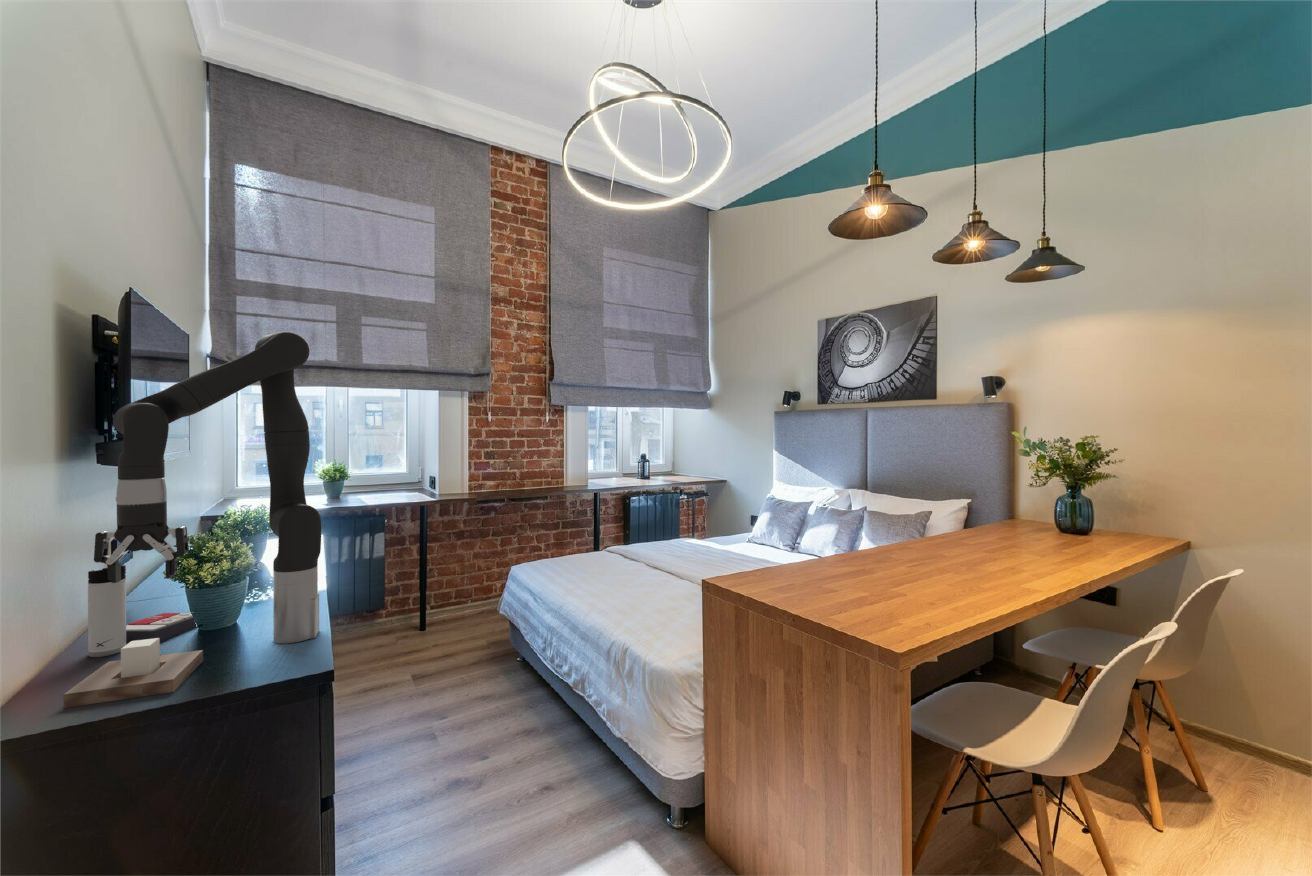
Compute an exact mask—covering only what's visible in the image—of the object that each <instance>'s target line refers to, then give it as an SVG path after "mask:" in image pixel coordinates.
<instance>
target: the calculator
mask: <svg viewBox="0 0 1312 876" xmlns="http://www.w3.org/2000/svg"><path fill="white" fill-rule="evenodd" d="M191 613H192V612H182V613H180V612H163V613H158V614H155V615H152V616H149V617H145V618H142V619H140V620H139V619H138V620H136V621H133V622H129V623H127V624H126V645H127V644H128V643H130V642H131V641H136V640H145V639H154V638H160V643H163V642H165V641H167V640H169V639H170V638H173V637H175V636H178V635H180V634H184V633H186V632H188V631H191V630H193V629H196V628H197V627H196V624H195V622H194V618H193V616H192V614H191Z"/></svg>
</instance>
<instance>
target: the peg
mask: <svg viewBox="0 0 1312 876" xmlns="http://www.w3.org/2000/svg"><path fill="white" fill-rule="evenodd" d="M160 644H161V642H160V638H154V639H145V640H136V641H131V642H130V643H128V644H127V645H125V646H124V647H123V648H121V652H120V660H121V678H125V677H132V676H140V675H147V674H153V673H155V672H156V671H157V670H158V669H159V668H160V654H161V653H160V652H161V651H160V650H161V649H160V647H161V646H160Z"/></svg>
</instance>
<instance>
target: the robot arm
mask: <svg viewBox="0 0 1312 876" xmlns="http://www.w3.org/2000/svg"><path fill="white" fill-rule="evenodd" d="M309 357H310V346H309V344H308V342H307V340H305V339H304V338H303V337H302V336H300V335H299V334H297V333H295V332H291V331H279V332H274V333H269V334H266V335H264V336H262V337H260V338H259V339H258V340H257V342H256V344H255V346H254V350H253V351H250V352H249V353H247V354H245V355H243V356H241V357H237V358H236V359H233V360H231V361H229V362H226V363H223V364H220V365H218V366H214V367H212V368H209V369H207V370H204V371H201V372H199V373H197V374H194V375H192V376H190V377H187V378H185V379H183V380H181V381H179V382H176V383H174V384H173V385H171V386H169V387H167V388H165V389H163V390H162V391H159V392H156V393H153V394H150V395H148V396H145V397H143V398H140V399H137V400H135V401H132V402H131V403H127V404H126V405H124V406H122V407H120V408H119V409H118V410H117V411H116V412H115V414H114V415H113V418H112V419H113V420H112V422H113V423H112V424H113V426H114V428H115V429H116V431H117V432H119V433H120V434H121V435H123V440H122V452H121V453H119V455H118V459H117V485H116V486H117V487H116V494H115V495H116V496H115V502H116V530H115V531H108V530H102V531H99V532H96V534H94V536H95V537H94V553H93V561H94V562H95V563H97V564H98V563H102V564H105V565H106V568H108V580H111V582H112V583H117V582H119V581H121V566H122V563H121V562H120V560H121V559H122V558H123V557H124V556H125V555H126V554H127V553H128V552H137V551H152V550H155V551H157V553H159V554H161V555H162V556H163V557H164V558H165V559H166V560H165V578H166V579H171V578H172V577H174V576H175V575H176V574H177V572H178V558H180V557H183V556H184V555H186V554H188V553H189V552H190V549H189V539H188V538H189V537H188V527H187V526H185V525H182V526H178V527H172V528H171V527H170V528H169V526H168V506H167V504H168V503H167V500H168V496H167V495H168V494H167V484H166V479H165V477H166V475H165V474H166V473H165V470H166V468H165V451H166V448H167V442H168V437H169V429H170V428H169V427H170V424H172V423H173V422H176V421H177V420H180V419H182V418H186V417H190V416H193V415H195V414H198V413H199V412H202V411H203V410H205V409H207V408H209V407H211V406H213V405H215V404H217V403H219V402H221V401H223V400H224V399H227V398H229V397H230V396H232V395H233V394H236V393H237V392H240V391H242V390H243V389H245V388H248V387H249V386H251V385H253V384H255V383H257V382H259V383H260V390H261V402H262V404H261V405H262V416H263V419H262V420H263V435H264V447H265V454H266V464H267V471H268V477H269V479H268V480H269V485H270V486H269V487H270V489H269V490H270V494H269V495H270V497H269V514H268V515H269V517H268V523H269V528H270V530H271V531H272V532H273V534H275V536H277V537H278V539H277V541H278V542H277V545H278V547H277V549H278V550H277V555H276V556H275V558H274V559H273V562H272V563H273V565H272V566H273V568H272V569H273V570H272V571H273V575H272V576H273V584H272V585H273V590H272V592H273V600H272V601H273V603H272V605H273V609H272V610H273V616H272V617H273V621H272V622H273V632H272V633H273V642H274V643H277V644H291V643H292V644H294V643H299V642H302V641H306V640H309V639H310V640H311V639H315V638H316V637H318V636H317V635H318V634H319V632H320V594H319V593H318V591H319V589H318V587H319V586H318V585H319V584H318V581H319V580H318V579H319V575H318V574H319V573H318V570H319V569H318V568H319V567H318V565H319V564H318V562H319V561H318V560H319V558H320V555H321V550H322V518H321V515H320V513H319V511H318V510H317V509H316V508H315V507H313V506H311V505H308V504H307V500H306V492H305V483H304V482H305V474H306V470H307V468H308V467H307V466H308V462H309V457H310V451H311V450H310V449H311V445H310V444H311V443H310V442H311V441H310V431H309V430H310V429H309V422H308V419H307V417H306V415H305V412H304V410H303V408H302V406H301V404H300V401H299V399H298V396H297V392H296V389H295V388H296V387H295V370H296V369H298V368H300V367H302V366H303V365H305V363H306V362H307V361H308V358H309ZM169 535H171V537H172V538H173V539H175V544H176V550H175V549H174V548H173V547H172V545H171V544H170V543H169V542H168V541H167V540H166V538H167V537H168V536H169ZM113 538H114V539H116V541H117V542H119V543H120V544H119V545H118V546H117V547H116V549H115V550H113V552H112V553H111V555H109V550H110V549H109V548H110V547H109V545H110V542H112V541H113Z"/></svg>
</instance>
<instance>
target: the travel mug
mask: <svg viewBox="0 0 1312 876" xmlns="http://www.w3.org/2000/svg"><path fill="white" fill-rule="evenodd" d="M126 571H127V568H126V564H125V565H121V581H119V582H117V583H112V582H111V580H108V568H107V567H104V568H102V569H98V570H89V571H88V572H87V578H88V579H87V585H88V586H87V648H88V649H87V655H88V657H90V658H102V657H107V656H112V655H113V656H114V655H116V654H119V653H121V648H123V647H124V646H125V645H126V625H127V577H126Z"/></svg>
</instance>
